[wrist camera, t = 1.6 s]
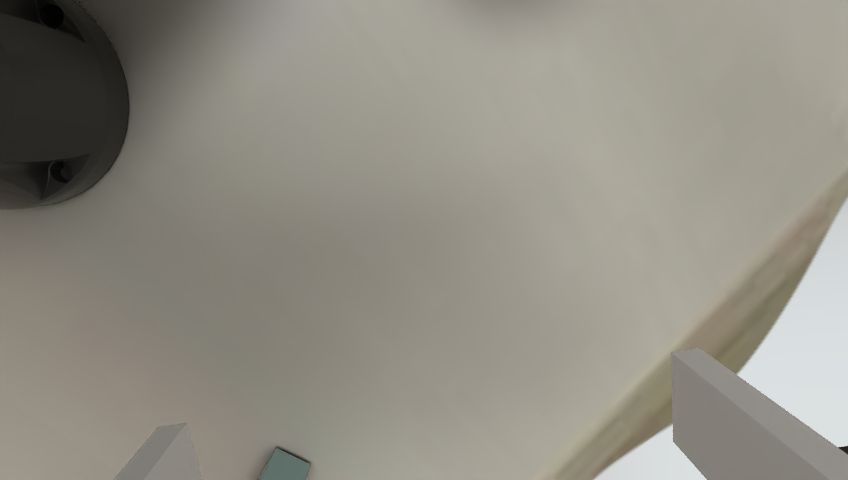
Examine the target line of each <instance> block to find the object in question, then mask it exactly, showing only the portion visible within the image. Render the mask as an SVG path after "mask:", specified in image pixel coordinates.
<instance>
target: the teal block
mask: <svg viewBox="0 0 848 480" xmlns="http://www.w3.org/2000/svg"><path fill="white" fill-rule="evenodd" d="M309 467H310V464H309V463H307V462H305V461H303V460H300V459H298V458H296V457H294V456H292V455H290V454H288V453H286V452H284V451H282V450H280V449H278V448H276V450H275V451H274V453H273V455H272V456H271V458H270V460H269V461H268V463H267V465H266V467H265V468H264V470H263V472H262V473H261V475H260V477H259V479H258V480H306V477H307V474H308V470H309Z"/></svg>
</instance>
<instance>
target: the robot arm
mask: <svg viewBox="0 0 848 480" xmlns="http://www.w3.org/2000/svg"><path fill="white" fill-rule="evenodd" d="M127 122H128V94H127V87H126V82H125V78H124V74H123V71H122V68H121V65H120V62H119V60H118V57H117V55H116V53H115V51H114V49H113V47H112V45H111V43H110V42H109V40H108V38H107V37H106V35H105V34H104V32H103V31H102V29H101V28H100V27H99V25H98V24H97V23H96V22H95V20H94V19H93V18H92V17H91V16H90V15H89V14H88V13H87V12H86V11H85V10H84V9H83V8H82V7H81V6H80V5H79V4H78V3H76V2H75V1H74V0H0V209H23V208H30V207H36V206H42V205H48V204H53V203H57V202H61V201H64V200H67V199H70V198H72V197H74V196H76V195H78V194H80V193H82V192H84V191H85V190H87V189H88V188H90V187H91V186H92V185H94V184H95V183H96V182H97V181H98V180H99V179H100V178H101V177H102V176H103V175H104V174H105V173H106V172H107V170H108V169H109V168H110V166H111V165H112V163H113V162H114V160H115V159H116V157H117V155H118V153H119V151H120V148H121V146H122V143H123V140H124V137H125V133H126V128H127ZM671 356H672V404H673V442H674V443H675V444H676V445H677V446H678V447H679V448H680V450H681V451H682V452H683V453H684V454H685V455H686V456H687V458H688V459H689V460H690V461H691V462H692V463H693V464H694V465H695V467H696V468H697V469H698V470H699V471H700V472H701V473H702V474H703V475H704V477H705V478H706V479H707V480H848V446H845V447H836V446H835V445H834V444H832V443H831V442H829V441H828V440H827V439H825V438H824V437H822V436H821V435H819V434H818V433H817V432H815V431H814V430H813V429H811V428H810V427H809V426H807V425H806V424H804V423H803V422H801V421H800V420H799V419H797V418H796V417H795V416H793V415H792V414H790V413H789V412H788V411H786V410H785V409H783V408H782V407H781V406H779V405H778V404H776V403H775V402H774V401H772V400H771V399H769V398H768V397H767V396H765V395H764V394H762V393H761V392H760V391H758V390H757V389H756V388H754V387H753V386H751V385H750V384H749V383H747V382H746V381H744V380H743V379H742V378H740V377H739V376H737V375H736V374H735V373H733V372H732V371H730V370H729V369H728V368H726V367H725V366H723V365H722V364H721V363H719V362H718V361H716V360H715V359H714V358H712V357H711V356H709V355H708V354H707V353H705V352H704V351H703V350H701V349H700V348H697V349H690V350H684V351H677V352H671ZM114 480H202V476H201V473H200V469H199V465H198V462H197V458H196V455H195V451H194V447H193V444H192V440H191V437H190V433H189V430H188V426H187V423H184V424H177V425H170V426H163V427H158V428H157V429H156V430H155V431H154V433H153V434H152V435H151V436H150V437H149V439H148V440H147V441H146V442H145V443H144V445H143V446H142V447H141V448H140V449H139V450H138V452H137V453H136V454H135V455H134V456H133V458H132V459H131V460H130V461H129V462H128V464H127V465H126V466H125V467H124V468H123V469H122V471H121V472H120V473H119V474H118V475H117V477H116V478H115V479H114Z"/></svg>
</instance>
